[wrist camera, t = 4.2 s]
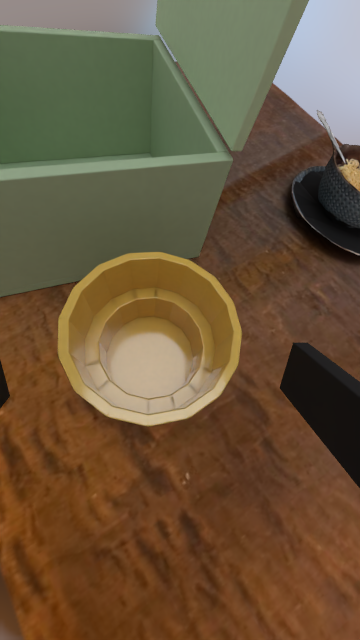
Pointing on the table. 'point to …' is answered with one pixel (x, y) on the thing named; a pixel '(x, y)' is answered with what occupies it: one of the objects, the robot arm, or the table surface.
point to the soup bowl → (332, 195)
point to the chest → (98, 155)
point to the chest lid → (230, 53)
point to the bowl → (149, 338)
